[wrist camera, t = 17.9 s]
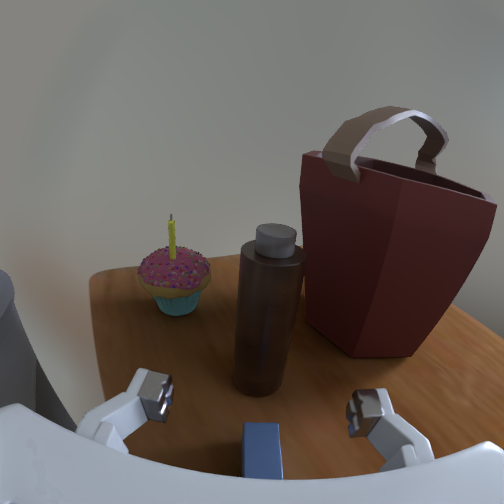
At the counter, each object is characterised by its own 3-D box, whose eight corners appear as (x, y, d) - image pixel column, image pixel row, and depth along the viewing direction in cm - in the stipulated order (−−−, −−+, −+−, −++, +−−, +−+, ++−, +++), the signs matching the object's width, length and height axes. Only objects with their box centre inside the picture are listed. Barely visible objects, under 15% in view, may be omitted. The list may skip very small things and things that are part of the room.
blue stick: (282, 553, 9) (289, 551, 8) (241, 554, 8) (244, 553, 8) (273, 437, 18) (278, 422, 17) (241, 437, 18) (243, 421, 17)
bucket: (380, 267, 46) (407, 125, 36) (473, 338, 28) (532, 157, 17) (251, 288, 38) (266, 92, 28) (343, 419, 19) (442, 74, 9)
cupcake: (217, 322, 31) (218, 218, 26) (142, 329, 28) (126, 224, 23) (205, 283, 38) (205, 196, 33) (143, 288, 36) (135, 200, 31)
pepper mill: (248, 403, 21) (267, 246, 15) (224, 370, 24) (230, 222, 19) (291, 385, 23) (324, 237, 17) (264, 356, 26) (283, 217, 21)
